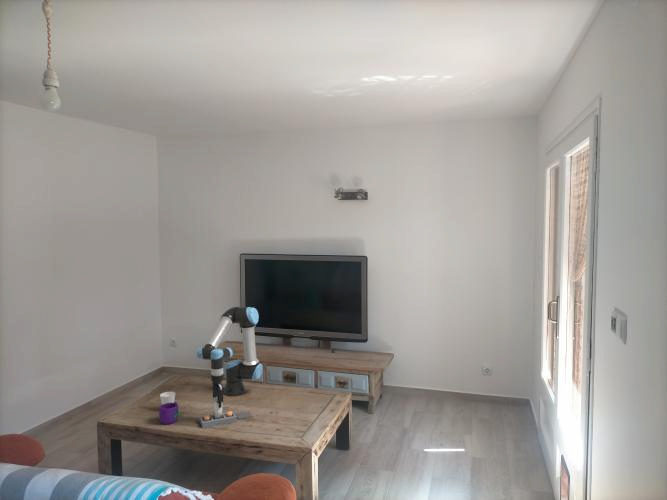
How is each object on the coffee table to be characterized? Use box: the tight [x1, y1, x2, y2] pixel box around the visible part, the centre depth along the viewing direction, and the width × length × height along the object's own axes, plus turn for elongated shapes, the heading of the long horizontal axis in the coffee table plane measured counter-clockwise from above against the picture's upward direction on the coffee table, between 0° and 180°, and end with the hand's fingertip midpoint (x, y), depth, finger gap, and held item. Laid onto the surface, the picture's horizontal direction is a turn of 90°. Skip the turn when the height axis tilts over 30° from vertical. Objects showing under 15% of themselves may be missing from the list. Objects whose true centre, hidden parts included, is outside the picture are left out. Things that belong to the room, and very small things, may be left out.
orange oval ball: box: [225, 410, 233, 417], centre depth 305 cm, size 4×4×3 cm
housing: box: [198, 410, 238, 429], centre depth 302 cm, size 21×11×3 cm, turn 116°
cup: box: [159, 391, 176, 405], centre depth 321 cm, size 10×10×11 cm
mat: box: [234, 411, 254, 420], centre depth 311 cm, size 9×9×1 cm
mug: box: [158, 401, 179, 425], centre depth 306 cm, size 17×11×10 cm, turn 171°
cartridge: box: [213, 397, 223, 419], centre depth 302 cm, size 5×5×12 cm
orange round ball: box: [203, 414, 211, 421], centre depth 299 cm, size 4×4×3 cm
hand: (218, 410), depth 302 cm, fingers closed on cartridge, 5 cm apart
